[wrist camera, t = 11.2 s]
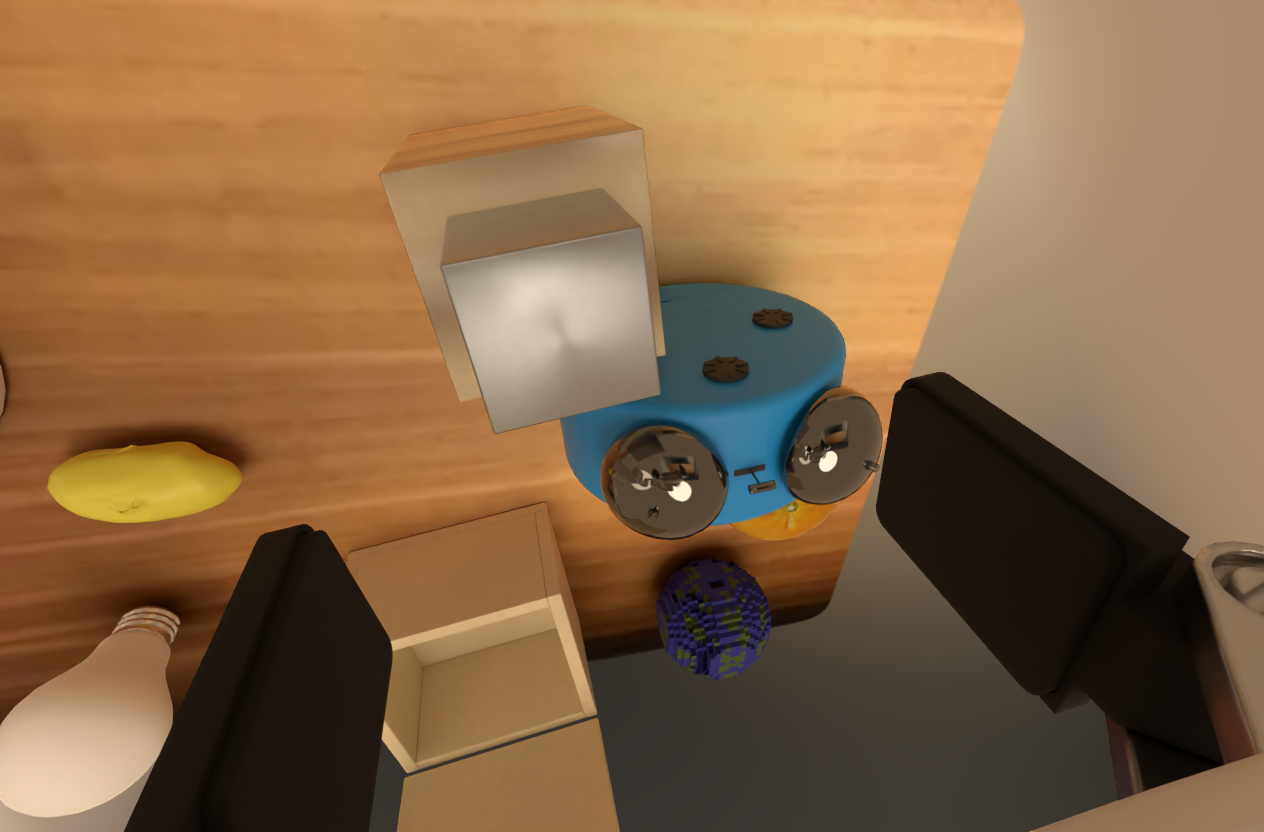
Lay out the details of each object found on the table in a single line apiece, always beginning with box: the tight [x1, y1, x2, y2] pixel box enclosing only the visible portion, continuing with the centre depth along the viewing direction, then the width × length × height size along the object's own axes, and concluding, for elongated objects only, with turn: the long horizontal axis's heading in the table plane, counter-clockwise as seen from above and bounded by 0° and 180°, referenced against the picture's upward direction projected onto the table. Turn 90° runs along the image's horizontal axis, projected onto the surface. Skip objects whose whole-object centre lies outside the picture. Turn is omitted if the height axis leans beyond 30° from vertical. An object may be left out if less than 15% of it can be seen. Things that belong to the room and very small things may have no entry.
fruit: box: [730, 499, 840, 540], centre depth 36 cm, size 8×9×8 cm
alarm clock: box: [560, 283, 883, 540], centre depth 26 cm, size 13×6×15 cm, turn 94°
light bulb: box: [0, 606, 181, 817], centre depth 30 cm, size 7×7×11 cm
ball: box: [657, 558, 771, 680], centre depth 42 cm, size 8×8×8 cm
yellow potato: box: [47, 441, 242, 523], centre depth 28 cm, size 4×8×4 cm, turn 79°
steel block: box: [440, 188, 661, 434], centre depth 17 cm, size 5×5×5 cm
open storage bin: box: [346, 502, 597, 773], centre depth 37 cm, size 13×13×8 cm
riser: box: [379, 106, 666, 402], centre depth 23 cm, size 8×8×10 cm
